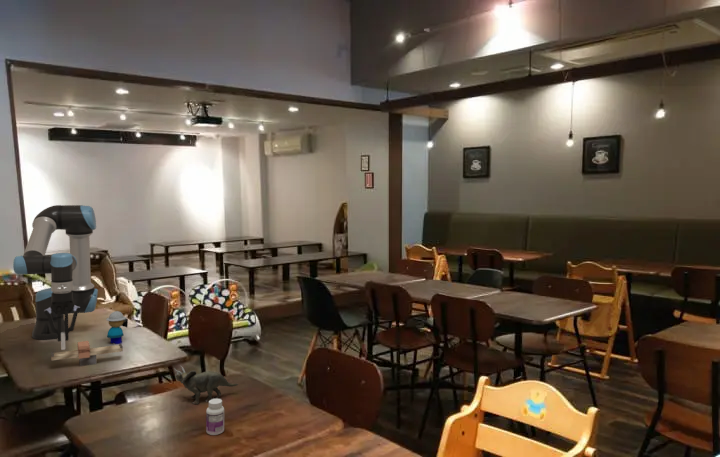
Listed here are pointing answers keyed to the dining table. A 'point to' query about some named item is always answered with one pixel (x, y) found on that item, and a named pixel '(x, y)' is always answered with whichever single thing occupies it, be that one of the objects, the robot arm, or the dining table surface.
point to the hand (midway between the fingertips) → (63, 348)
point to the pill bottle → (215, 417)
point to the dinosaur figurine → (202, 383)
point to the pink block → (84, 349)
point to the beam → (93, 354)
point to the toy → (116, 326)
